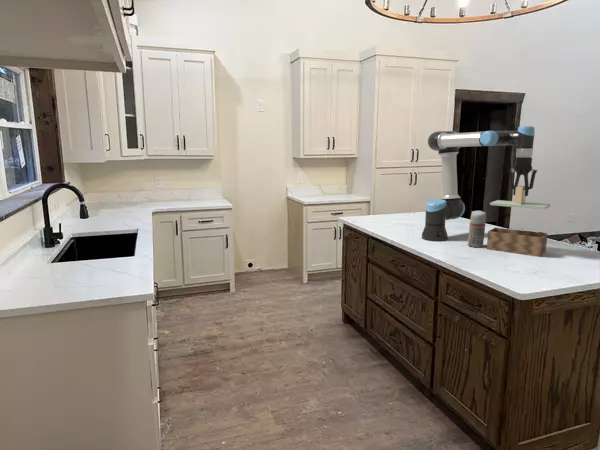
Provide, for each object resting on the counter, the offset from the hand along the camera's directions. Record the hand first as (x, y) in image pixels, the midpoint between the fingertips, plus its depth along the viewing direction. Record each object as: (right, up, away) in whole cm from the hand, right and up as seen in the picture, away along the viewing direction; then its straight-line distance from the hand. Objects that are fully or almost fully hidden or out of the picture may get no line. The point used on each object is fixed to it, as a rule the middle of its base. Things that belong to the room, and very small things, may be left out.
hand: (519, 201), depth 217 cm
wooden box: (0, -26, +5) cm, 26 cm away
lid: (0, -2, 0) cm, 2 cm away
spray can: (-17, -24, +16) cm, 34 cm away
